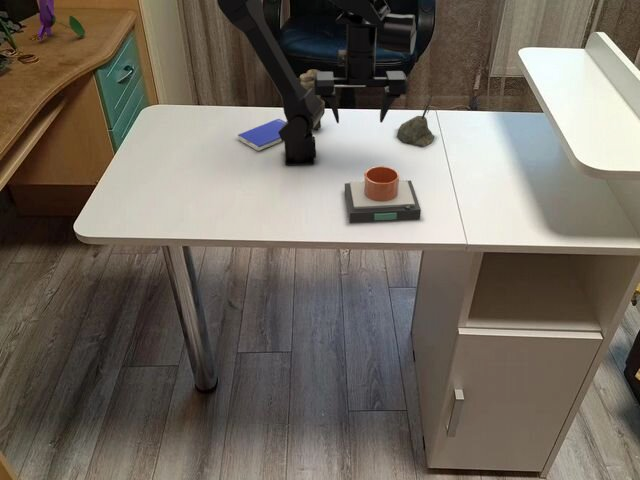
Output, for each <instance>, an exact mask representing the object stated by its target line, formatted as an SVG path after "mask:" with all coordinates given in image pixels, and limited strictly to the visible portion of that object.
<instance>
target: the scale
mask: <svg viewBox="0 0 640 480" xmlns="http://www.w3.org/2000/svg"><path fill="white" fill-rule="evenodd" d="M344 198H345V203H346V210H347V215H348V222H349V224H363V223H381V222H382V223H384V222H401V221H419V220H421V212H422V210H421V207H420V202H419V200H418V197H417V194H416V191H415V188H414V186H413V182H412V180H411V179H410V180H408V179H405V178H404V179H399V190H398V195H397V196H396V197H395V198H394V199H392V200H389V201H375V200H372V199H369V198H368V197H367V196H366V195H365V193H364V180H361V181H359V180H358V181H349V182H346V183H344Z"/></svg>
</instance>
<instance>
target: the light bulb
mask: <svg viewBox="0 0 640 480" xmlns="http://www.w3.org/2000/svg"><path fill="white" fill-rule="evenodd" d="M316 72H322V71H321V70H319V69H313V68H312V69H309V70H307V71H306V73H302V74H299V75H300V76H299V80H300V81H299V83H300V84H301V85H302V86H303V87H304V88H305V89H307V90H310V89H311V88H314V74H315V73H316ZM317 97H318V98H319V100H320V101H321V102H322V103H323V104H322V105H321V107H322V110H323V113H322V117H321V118H320V120H319V121H318V123H317V124H316V125H315V127H314V128H313V130H312V132H316V131H319V129H321V126H322V123H321V121H322V120H321V119H322V118H323V116H324V115H325V113H326V112H325V111H326V102H325V101H324V99H322V98H321V95H317Z"/></svg>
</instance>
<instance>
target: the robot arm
mask: <svg viewBox="0 0 640 480" xmlns="http://www.w3.org/2000/svg"><path fill="white" fill-rule="evenodd" d="M328 1H329V2H331V3H332V4H333V5H335V6H336V7H337V8H339V9H341V10H343V11H342V13H341V14H340V15H339V16H338V17H337V18H336V19H335V24H340V25H346V49H337V66H338V67H344V74H345V77H334V71H321V72H316V73H315V74H314V88H311V89H310V90H307V89H305V88H304V87H303V86H302V85H301V83H300V81H299V79H298V78H297V75H296V74H295V72H294V70H293V68H292V67H291V65H290V63H289V62H288V59H287V58H286V56H285V54H284V52H283V51H282V49H281V47H280V45H279V44H278V42H277V40H276V39H275V36H274V34H273V33H272V31H271V29H270V27H269V25H268V24H267V22H266V18H265V13H264V5H263V1H262V0H216V3H217V5H218V8H219V10H220V11H221V12H222V13H223V15H224V16H225V17H226V19H227V20H228V21H229V23H230V24H231V25H232V26H234V27H235V28H237V29H238V30H239V31H240V32H242V33H243V34H244V36H245V37H246V39H247V40H248V42H249V44H250V45H251V47H252V49H253V51H254V53H255V54H256V55H257V57H258V59H259V61H260V62H261V64H262V66H263V68H264V69H265V71H266V73H267V75H268V77H269V78H270V80H271V81H272V83H273V85H274V87H275V88H276V90H277V91H278V93H279V95H280V97H281V101H282V108H283V114H284V116H285V120H286V121H285V122H286V123H285V124H284V126H283V127H282V128H281V129H280V131H279V132H278V133H279V135H280V138H281V140H282V141H281V142H284V143H283V144H284V165H285V166H302V165H303V166H304V165H314V164H315V159H316V158H317V149H316V146H317V145H316V137H315V135H314V136H313V128H314V127H315V125H316V124H317V123H318V121H319V120H320V118H321V117H322V118H323V116H322V113H323V110H322V107H321V105H322V104H323V103H322V102H321V101H320V100H319V98H318V97H317V95H321V96H320V99H322V100H325V101H326V102H327V103H328V105H329V107H330V109H331V111H332V114H333V117H334V119H335V122H336V124H339V123H340V115H339V108H338V107H339V106H338V101H337V100H338V99H337V95H336V93H337V92H336V89H338V88H340V89H341V88H343V89H344V88H345V89H347V88H351V89H353V88H383V89H382V97H381V98H382V99H381V105H380V111H379V123H381V124H383V122H384V120H385V118H386V115H387V114H388V113H389V109H390V108H391V106H392V105H393V104H394V102H395V101H396V99H400V98H401V96H402V95H407V94H408V91H409V90H408V89H409V84H408V83H409V81H408V79H407V76H406V73H405V72H404V71H403V70H387V71H386V70H385V76H376V56H377V55H376V53H377V45H378V46H379V47H378V48H379V49H381V50H382V51H383V52H386V53H387V52H388V53H395V54H397V53H398V54H404V55H413V53H414V50H415V45H416V39H417V32H418V31H417V30H416V29H417V28H416V15H415V14H396V13H391V8H390V7H389V5H388V3H387V2H386V0H328ZM322 118H321V119H322Z"/></svg>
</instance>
